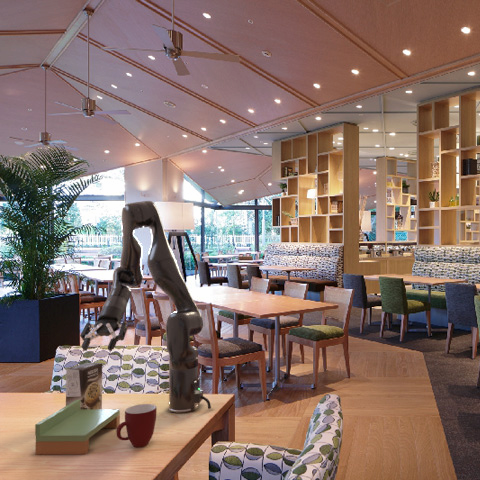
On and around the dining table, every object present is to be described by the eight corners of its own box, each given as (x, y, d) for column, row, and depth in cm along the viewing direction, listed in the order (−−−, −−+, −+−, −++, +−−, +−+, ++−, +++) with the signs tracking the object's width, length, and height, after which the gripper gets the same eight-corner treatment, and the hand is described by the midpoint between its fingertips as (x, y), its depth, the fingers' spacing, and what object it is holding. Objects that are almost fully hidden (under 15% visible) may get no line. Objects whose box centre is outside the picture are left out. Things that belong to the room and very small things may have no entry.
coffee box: (82, 421, 154) (82, 369, 154) (64, 419, 155) (65, 368, 155) (103, 411, 162) (103, 362, 162) (86, 409, 164) (86, 361, 164)
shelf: (119, 425, 150) (119, 399, 150) (84, 454, 130) (85, 424, 130) (76, 425, 150) (76, 399, 150) (35, 454, 130) (35, 424, 130)
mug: (127, 456, 129) (127, 418, 129) (110, 449, 133) (110, 412, 133) (162, 442, 138) (162, 407, 138) (145, 436, 142) (145, 402, 142)
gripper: (89, 304, 175) (71, 343, 163) (129, 304, 175) (114, 343, 164) (97, 317, 180) (79, 355, 169) (136, 317, 181) (121, 355, 169)
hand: (96, 349), depth 166 cm, fingers open, 8 cm apart
